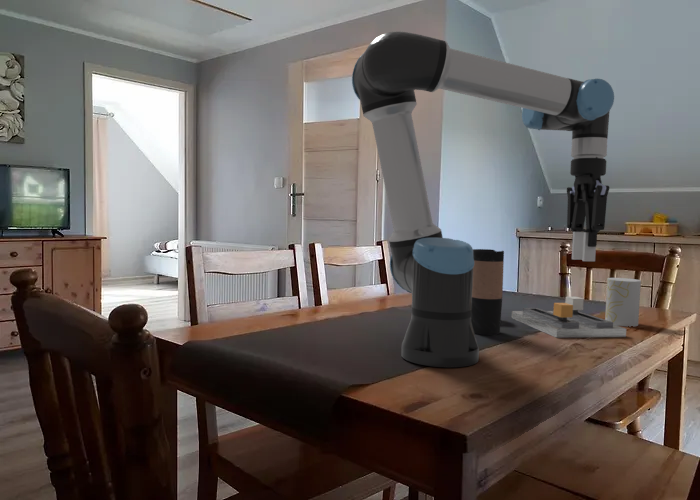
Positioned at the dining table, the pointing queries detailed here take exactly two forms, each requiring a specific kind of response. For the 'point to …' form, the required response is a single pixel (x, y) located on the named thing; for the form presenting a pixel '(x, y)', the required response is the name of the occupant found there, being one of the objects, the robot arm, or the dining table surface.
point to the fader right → (575, 303)
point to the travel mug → (487, 291)
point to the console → (568, 324)
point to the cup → (623, 301)
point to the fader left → (563, 311)
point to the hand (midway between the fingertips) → (583, 260)
